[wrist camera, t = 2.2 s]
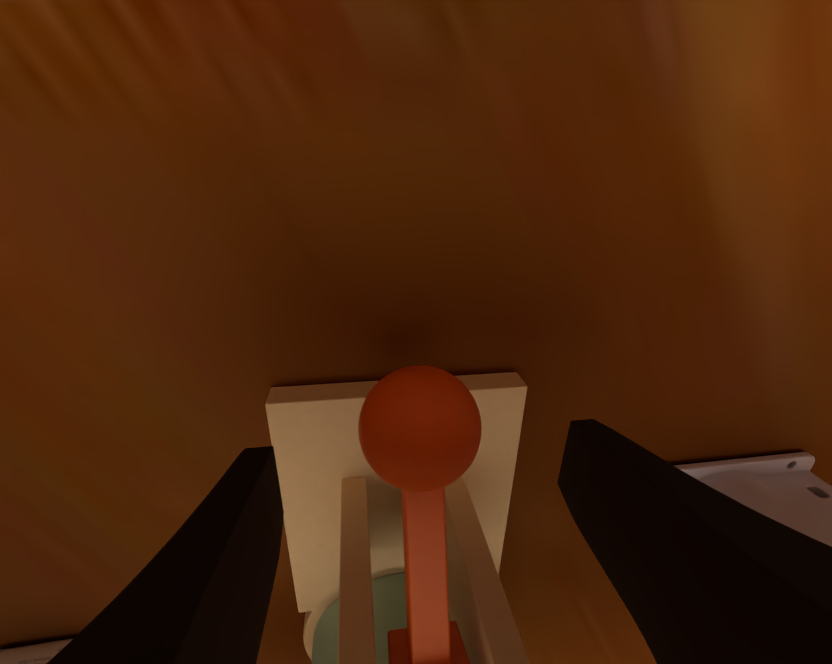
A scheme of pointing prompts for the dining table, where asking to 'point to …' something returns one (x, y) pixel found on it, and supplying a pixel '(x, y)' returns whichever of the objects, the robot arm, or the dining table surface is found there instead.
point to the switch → (422, 494)
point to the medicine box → (32, 653)
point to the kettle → (387, 617)
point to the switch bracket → (393, 514)
